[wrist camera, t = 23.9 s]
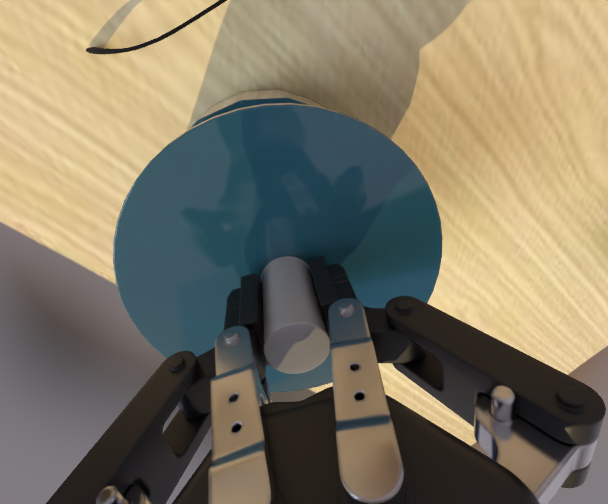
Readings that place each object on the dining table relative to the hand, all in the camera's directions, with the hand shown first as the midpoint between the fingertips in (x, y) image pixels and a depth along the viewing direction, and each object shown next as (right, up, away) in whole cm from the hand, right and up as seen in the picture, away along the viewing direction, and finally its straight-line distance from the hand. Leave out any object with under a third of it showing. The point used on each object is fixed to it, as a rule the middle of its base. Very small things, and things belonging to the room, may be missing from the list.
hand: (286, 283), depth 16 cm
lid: (0, 0, +1) cm, 1 cm away
